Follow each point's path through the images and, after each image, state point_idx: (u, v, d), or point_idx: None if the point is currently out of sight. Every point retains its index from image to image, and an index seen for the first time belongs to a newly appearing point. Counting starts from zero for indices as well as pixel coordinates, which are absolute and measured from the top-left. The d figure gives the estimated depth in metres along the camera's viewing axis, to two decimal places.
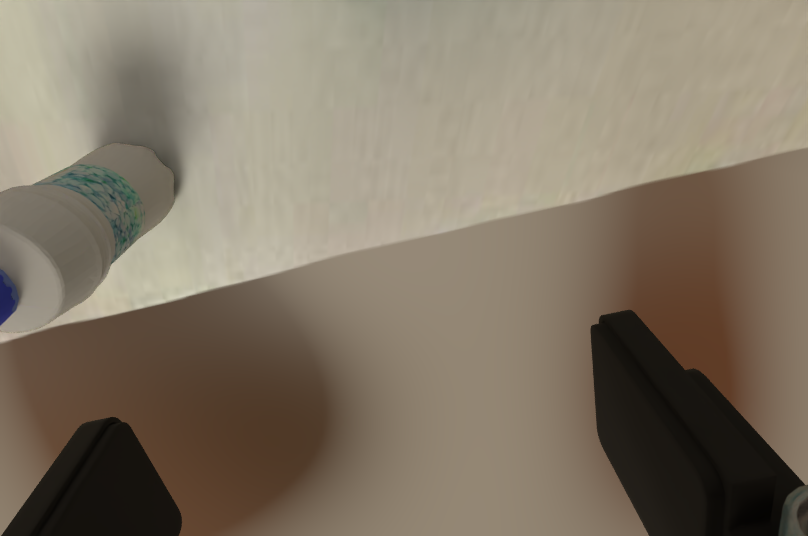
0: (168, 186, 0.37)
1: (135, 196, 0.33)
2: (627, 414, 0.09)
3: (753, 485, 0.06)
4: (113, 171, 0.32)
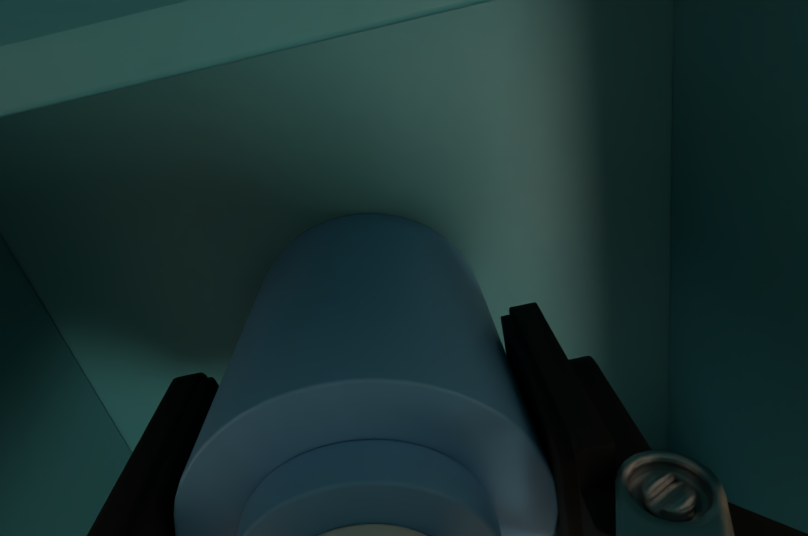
0: None
1: None
2: (524, 396, 0.09)
3: (597, 452, 0.07)
4: None
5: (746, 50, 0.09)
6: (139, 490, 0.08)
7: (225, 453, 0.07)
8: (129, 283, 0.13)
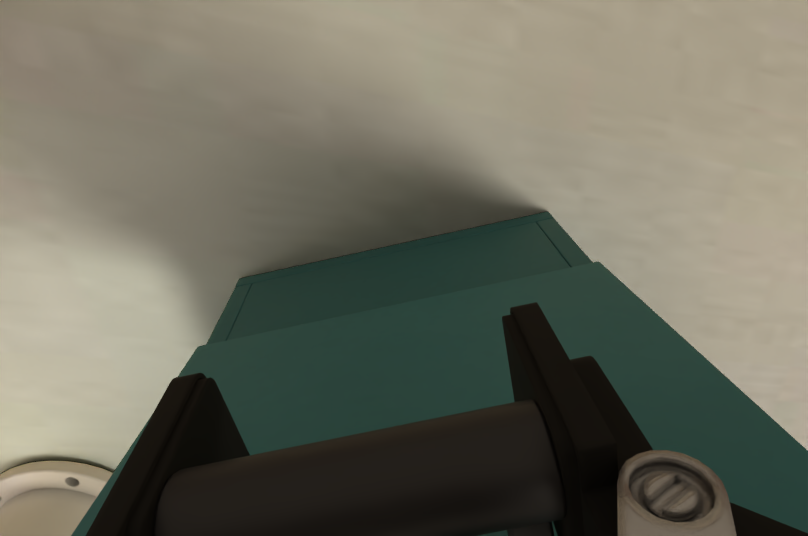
0: None
1: None
2: (525, 396, 0.09)
3: (598, 452, 0.07)
4: None
5: None
6: (138, 491, 0.08)
7: None
8: None
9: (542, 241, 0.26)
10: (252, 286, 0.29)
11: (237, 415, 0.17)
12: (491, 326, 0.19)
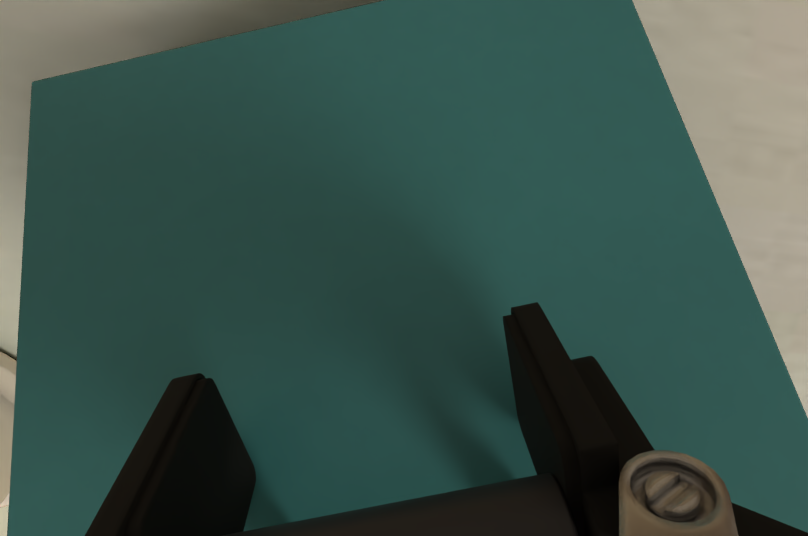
0: None
1: None
2: (526, 396, 0.09)
3: (600, 452, 0.07)
4: None
5: None
6: (136, 491, 0.08)
7: None
8: None
9: None
10: None
11: (145, 238, 0.14)
12: (458, 91, 0.14)
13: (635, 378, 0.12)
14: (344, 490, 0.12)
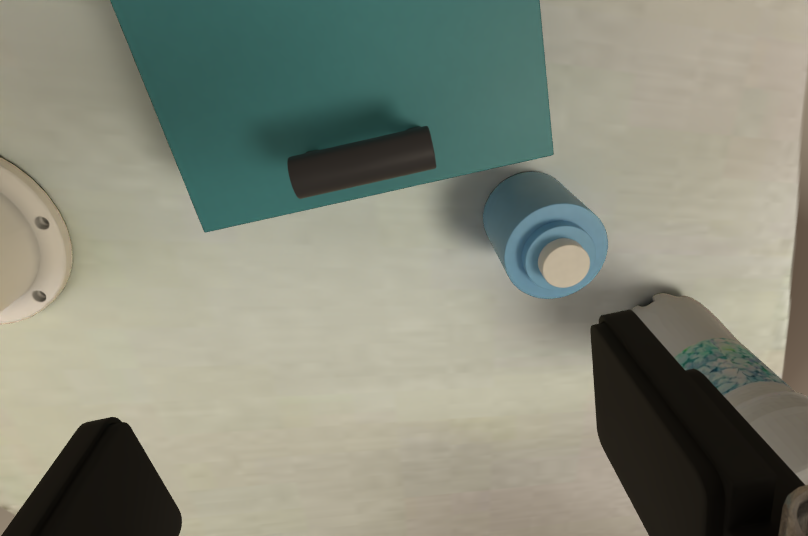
0: (682, 304, 0.36)
1: (706, 344, 0.33)
2: (627, 414, 0.09)
3: (753, 485, 0.06)
4: (675, 357, 0.33)
5: None
6: None
7: (525, 224, 0.29)
8: None
9: None
10: None
11: None
12: None
13: (475, 71, 0.24)
14: (337, 129, 0.25)
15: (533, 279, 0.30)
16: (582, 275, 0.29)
